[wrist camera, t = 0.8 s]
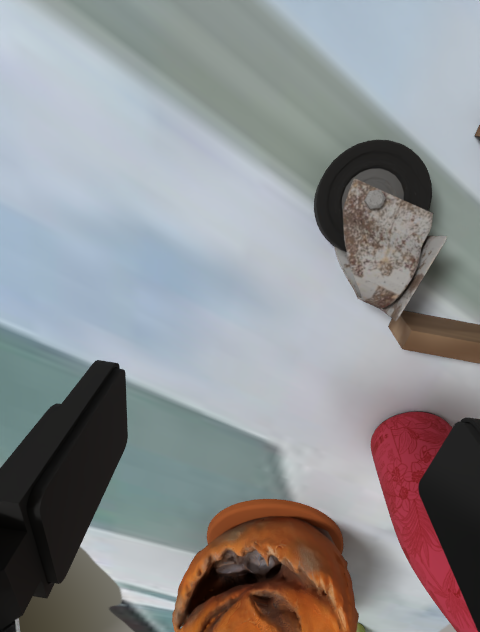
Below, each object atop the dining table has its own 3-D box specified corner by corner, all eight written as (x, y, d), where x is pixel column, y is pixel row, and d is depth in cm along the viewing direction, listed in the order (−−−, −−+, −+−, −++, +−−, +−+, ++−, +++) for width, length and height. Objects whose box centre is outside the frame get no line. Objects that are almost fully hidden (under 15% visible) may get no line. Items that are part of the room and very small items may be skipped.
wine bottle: (443, 463, 42) (737, 1020, 15) (362, 462, 43) (510, 981, 17) (461, 405, 37) (927, 1059, 11) (371, 405, 38) (594, 1002, 12)
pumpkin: (170, 533, 55) (113, 758, 35) (283, 470, 45) (294, 733, 25) (264, 588, 61) (261, 804, 41) (380, 543, 51) (450, 799, 32)
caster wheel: (339, 138, 28) (448, 187, 28) (281, 260, 31) (379, 306, 31) (355, 109, 21) (497, 172, 21) (280, 267, 25) (403, 324, 24)
